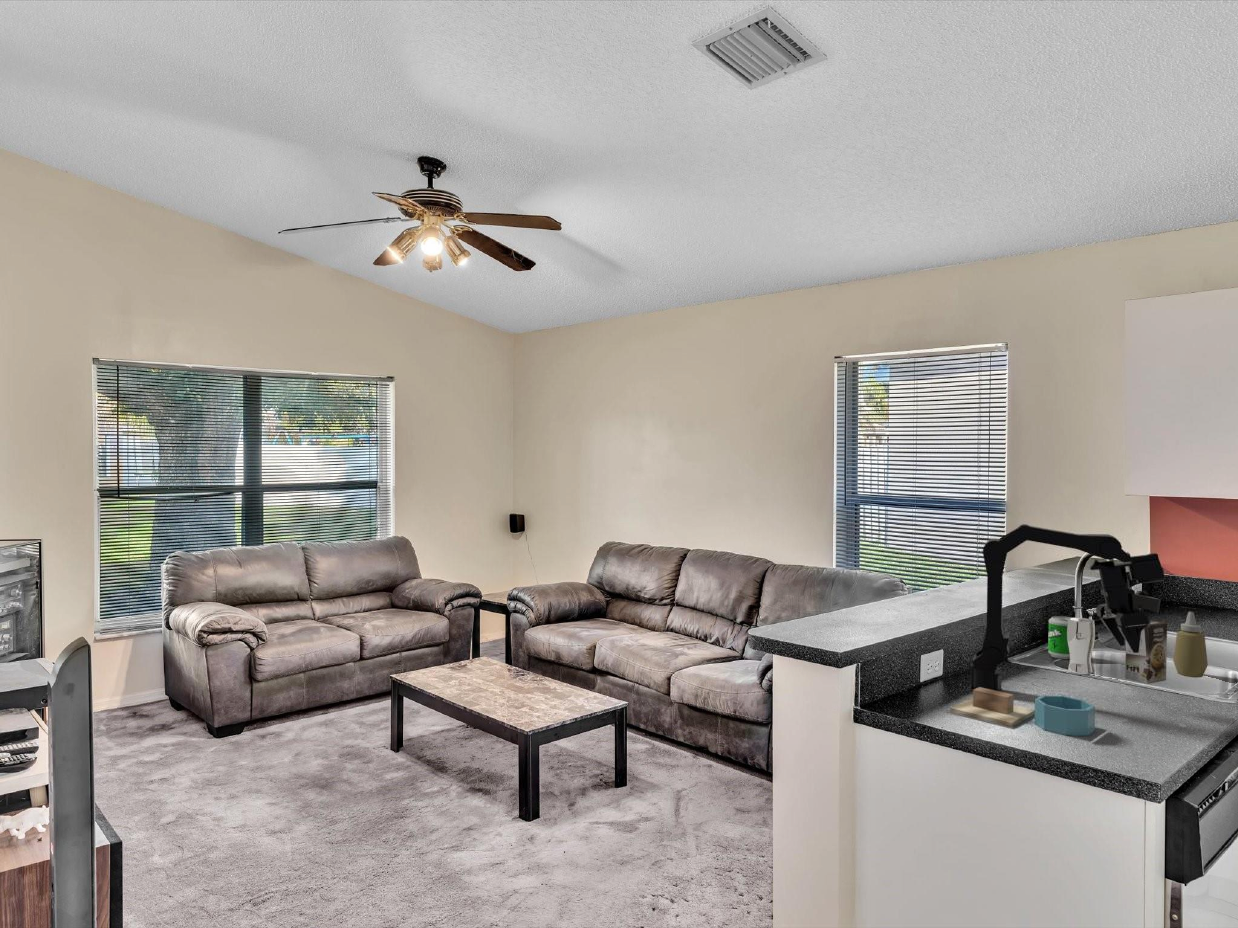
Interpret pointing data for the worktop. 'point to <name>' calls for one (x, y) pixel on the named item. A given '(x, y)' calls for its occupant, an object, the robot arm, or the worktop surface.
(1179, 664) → the squeeze bottle
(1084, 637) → the white tall piece
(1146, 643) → the cookie box
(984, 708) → the lid
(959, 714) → the mat
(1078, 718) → the bowl
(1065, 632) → the soda can
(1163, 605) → the worktop surface
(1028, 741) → the worktop surface
